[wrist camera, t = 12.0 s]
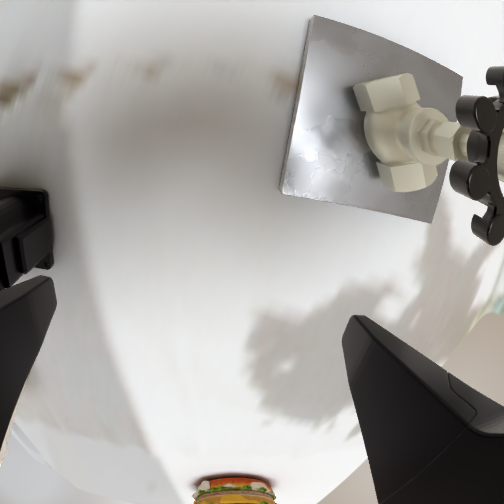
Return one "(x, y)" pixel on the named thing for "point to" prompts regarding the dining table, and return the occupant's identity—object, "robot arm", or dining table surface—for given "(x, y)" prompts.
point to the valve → (439, 143)
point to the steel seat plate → (356, 120)
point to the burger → (234, 492)
